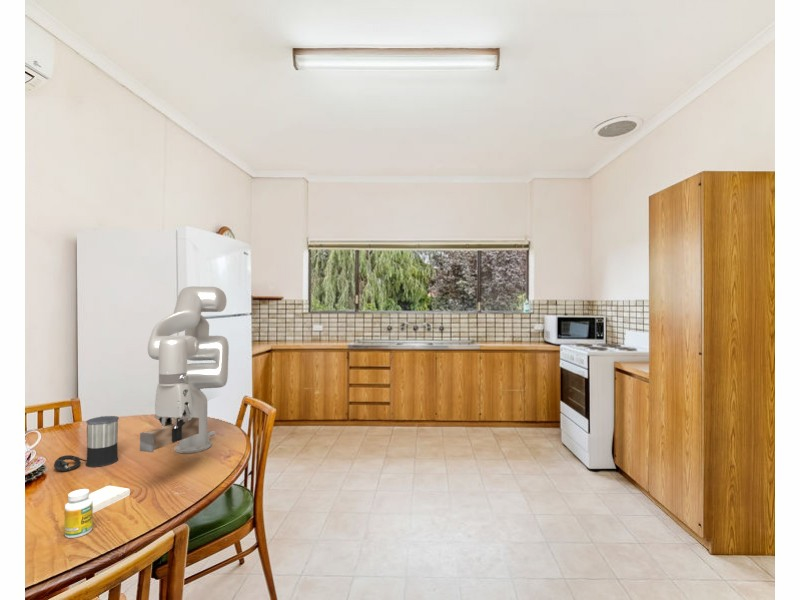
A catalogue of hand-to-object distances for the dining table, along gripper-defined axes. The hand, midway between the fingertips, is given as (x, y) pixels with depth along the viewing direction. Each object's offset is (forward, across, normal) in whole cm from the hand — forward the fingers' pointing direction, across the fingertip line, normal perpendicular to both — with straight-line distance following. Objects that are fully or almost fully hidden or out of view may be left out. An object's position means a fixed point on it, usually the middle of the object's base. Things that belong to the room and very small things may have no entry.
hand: (172, 439), depth 128 cm
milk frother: (+13, +40, -4) cm, 42 cm away
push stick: (+1, 0, 0) cm, 1 cm away
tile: (+13, +10, +9) cm, 18 cm away
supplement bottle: (+14, 0, +28) cm, 31 cm away
